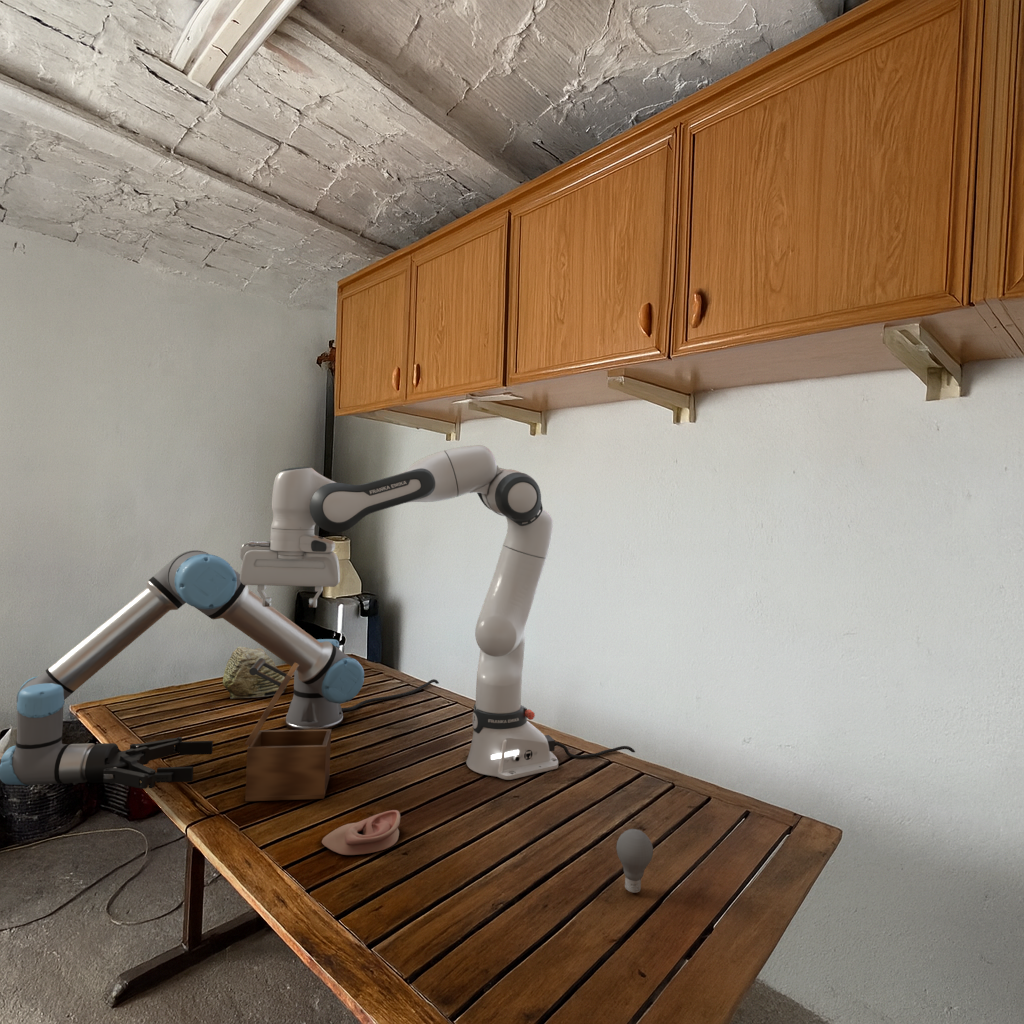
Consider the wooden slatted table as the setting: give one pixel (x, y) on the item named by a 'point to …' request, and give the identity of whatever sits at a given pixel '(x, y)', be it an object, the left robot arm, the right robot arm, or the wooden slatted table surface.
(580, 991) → the wooden slatted table surface
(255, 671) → the lid
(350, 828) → the anatomical model
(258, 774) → the chest
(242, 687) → the fossil
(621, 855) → the light bulb
